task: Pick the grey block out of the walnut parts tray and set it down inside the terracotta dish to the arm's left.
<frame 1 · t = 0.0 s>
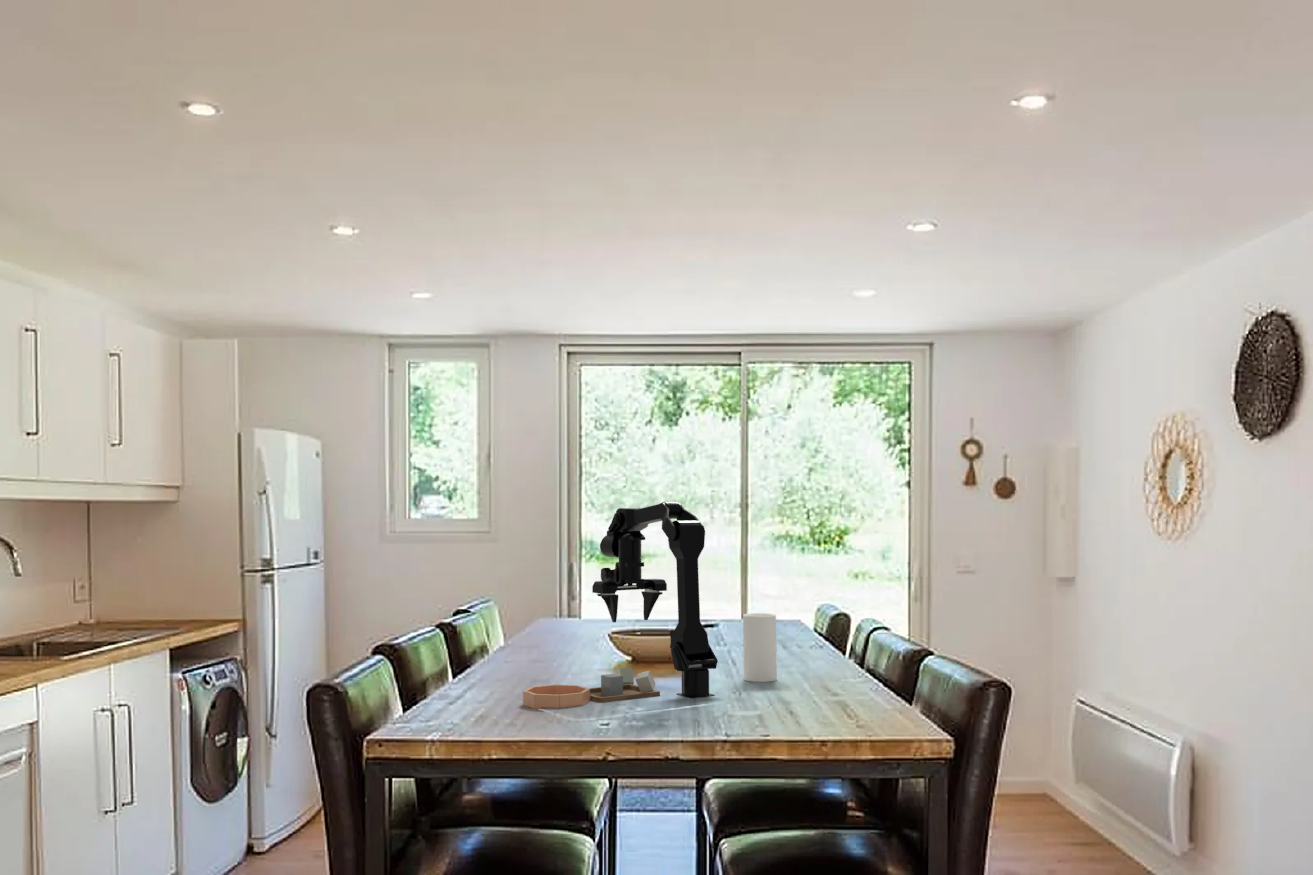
hand: (630, 621, 266), 15 cm above the table, fingers open, 9 cm apart
tray: (615, 697, 242), on the table
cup: (760, 680, 266), on the table
dish: (556, 703, 233), on the table
grey small block: (639, 683, 244), point 3 cm above the table, tilted 73°, touching tray
grey block: (612, 695, 241), resting on tray
pale green block: (626, 675, 253), point 3 cm above the table, tilted 128°
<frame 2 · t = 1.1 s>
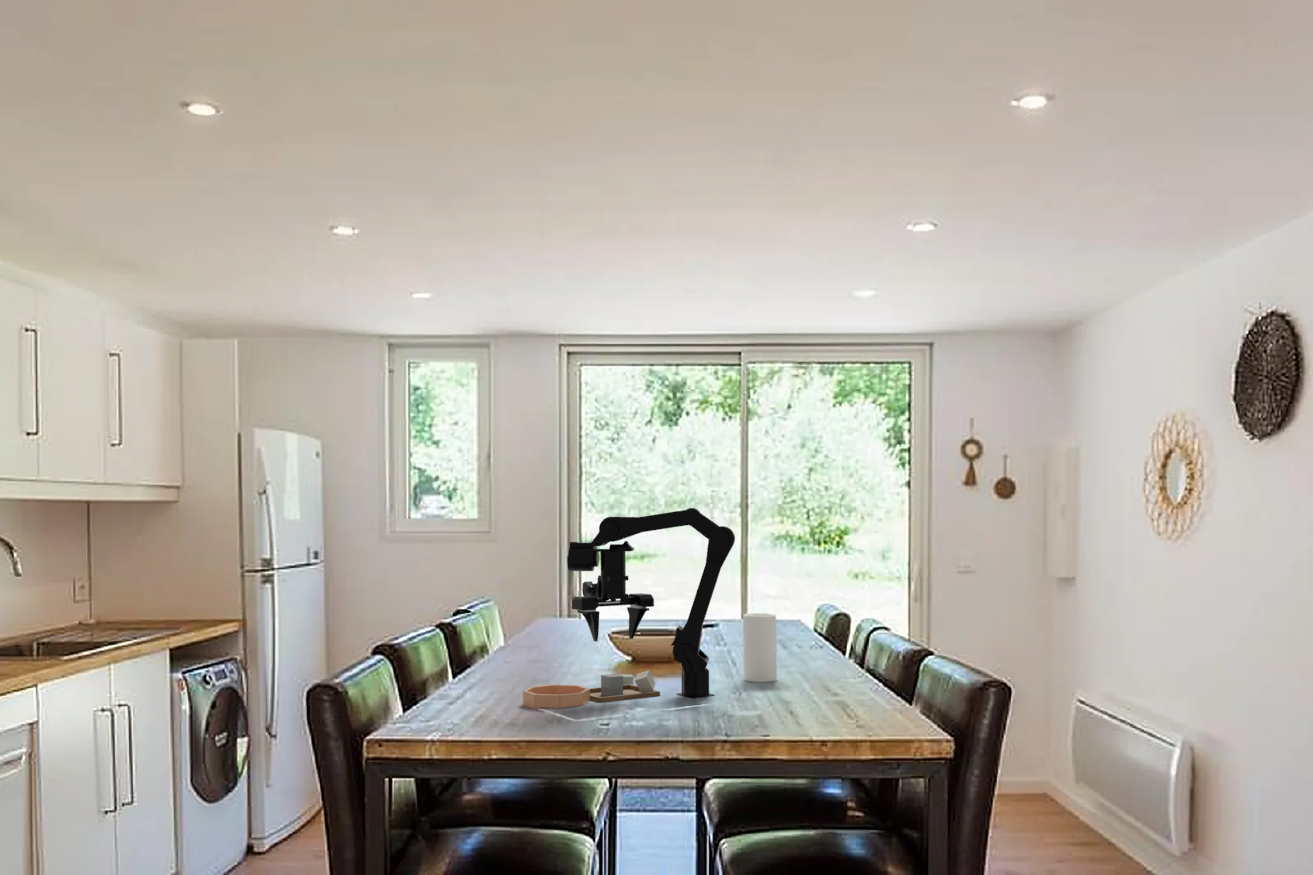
hand: (613, 640, 244), 13 cm above the table, fingers open, 9 cm apart
pale green block: (625, 675, 256), point 3 cm above the table, tilted 180°
everything else where it was.
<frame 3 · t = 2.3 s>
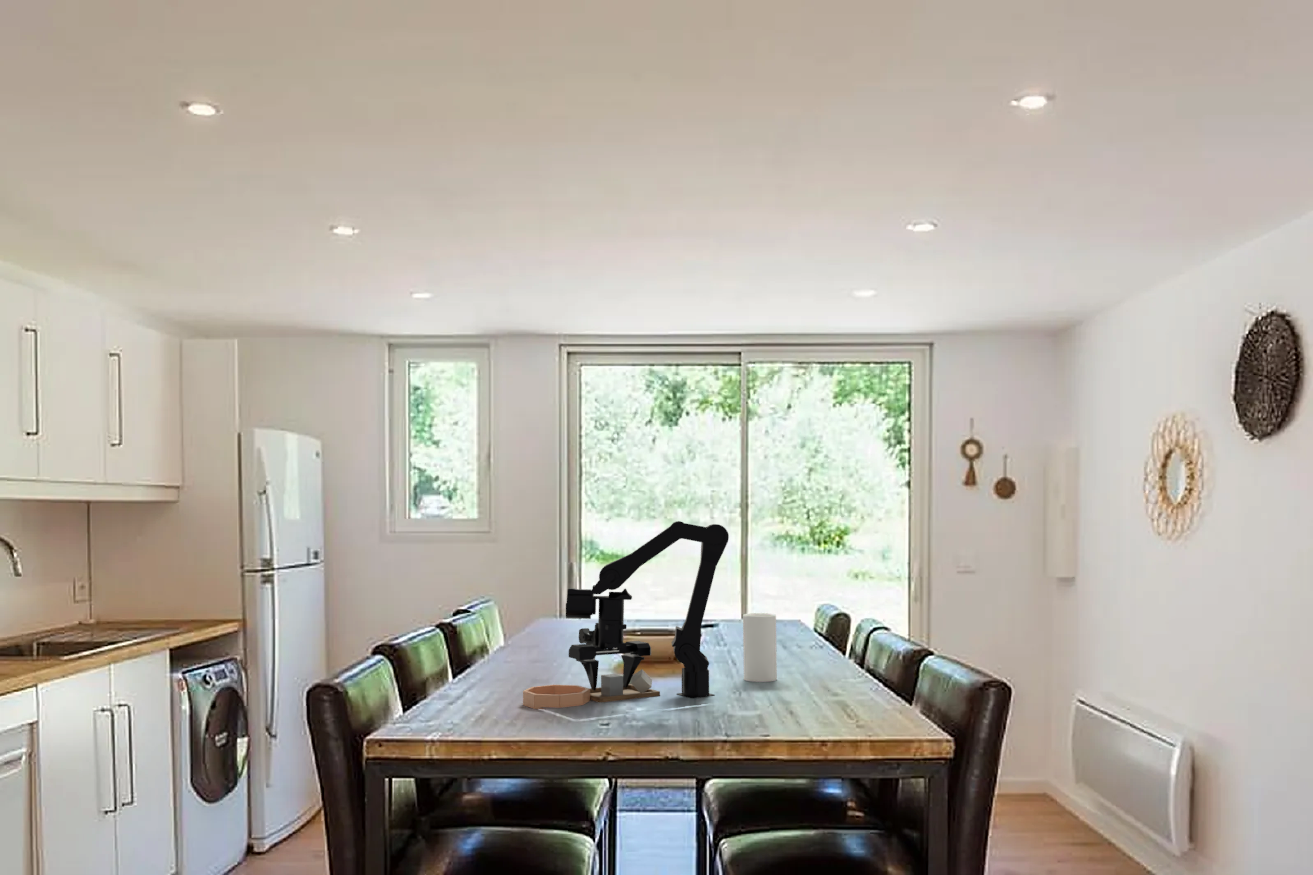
hand: (609, 689, 241), 2 cm above the table, fingers open, 8 cm apart
grey small block: (636, 684, 244), point 2 cm above the table, tilted 56°, touching gripper, tray
everything else where it was.
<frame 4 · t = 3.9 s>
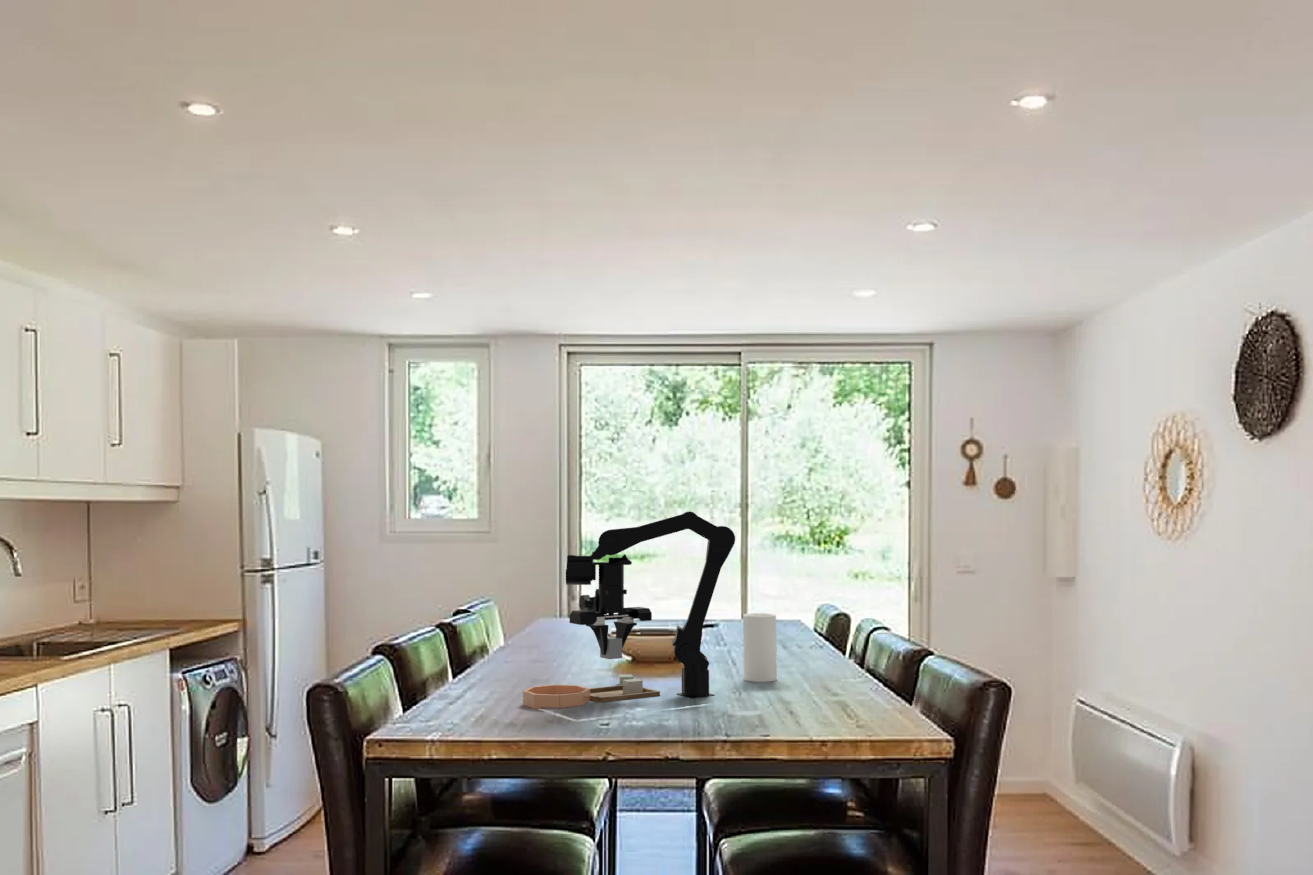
hand: (611, 654, 242), 10 cm above the table, fingers closed on grey block, 3 cm apart
grey small block: (632, 693, 243), resting on tray
grey block: (611, 657, 242), point 9 cm above the table, touching gripper
everything else where it was.
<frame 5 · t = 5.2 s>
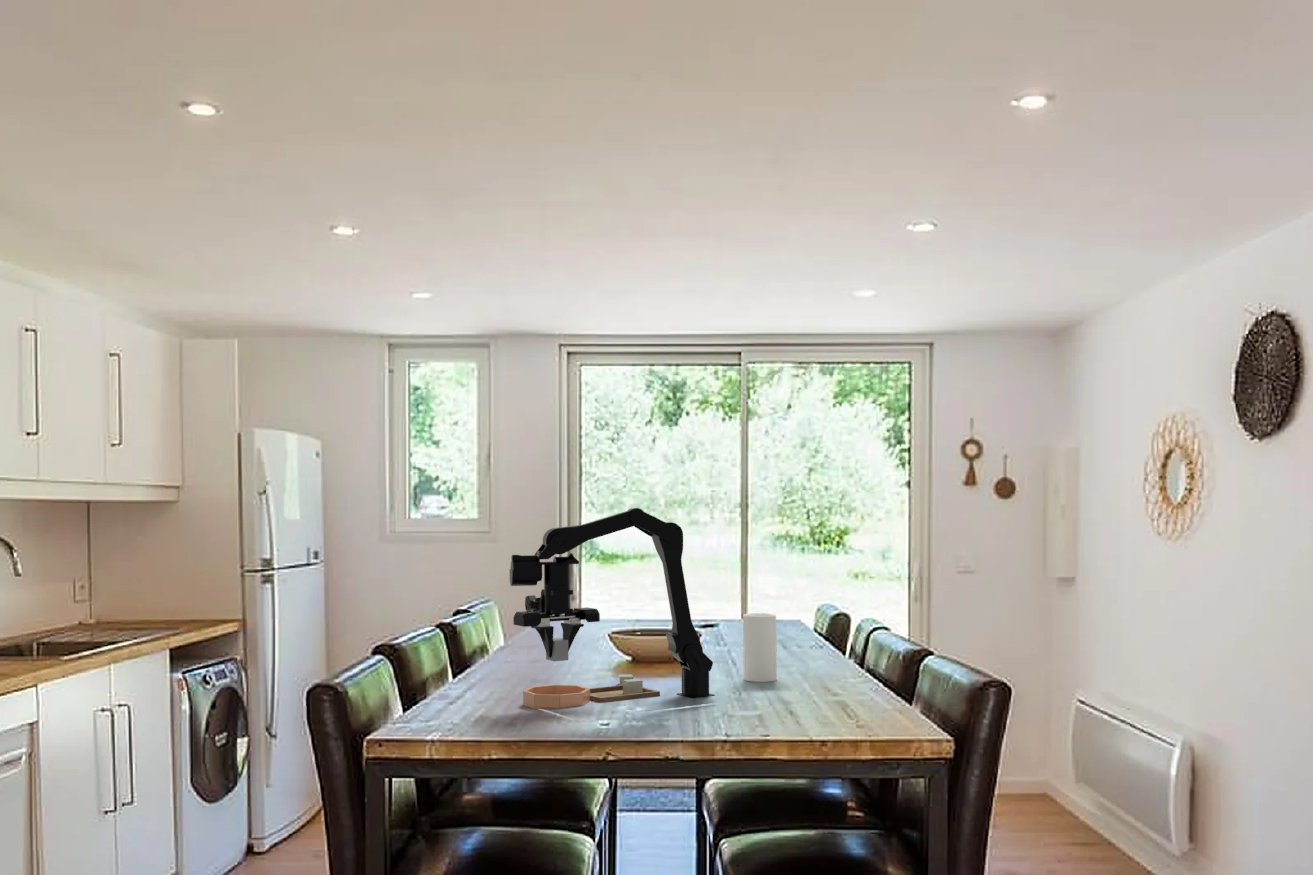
hand: (557, 656, 234), 10 cm above the table, fingers closed on grey block, 3 cm apart
grey block: (557, 659, 234), point 10 cm above the table, touching gripper
everything else where it was.
when the fingers open (3 cm above the table, at t = 6.4 s): grey block drops 2 cm, resting on dish.
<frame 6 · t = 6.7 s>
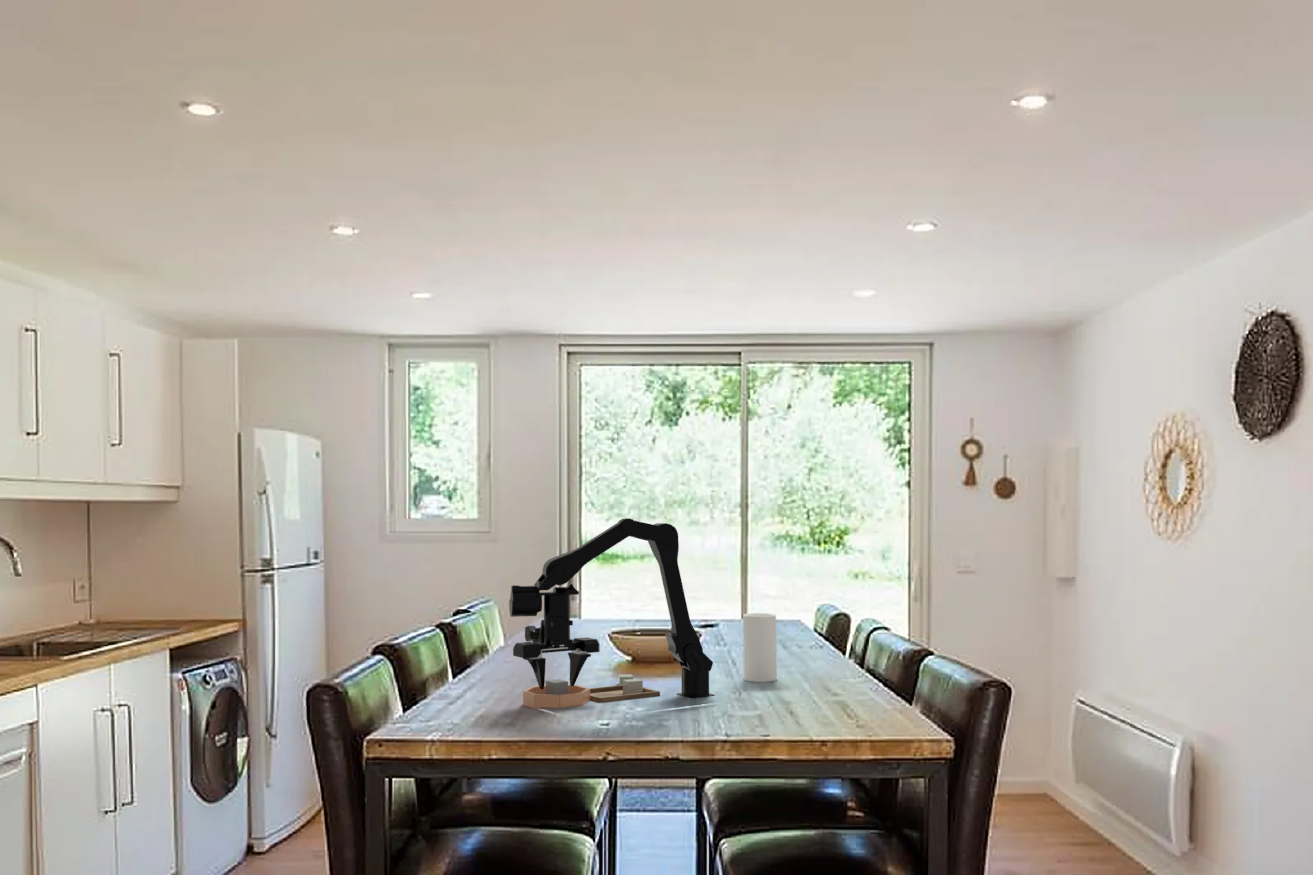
hand: (556, 687, 234), 3 cm above the table, fingers open, 7 cm apart
grey block: (556, 701, 234), resting on dish
everything else where it was.
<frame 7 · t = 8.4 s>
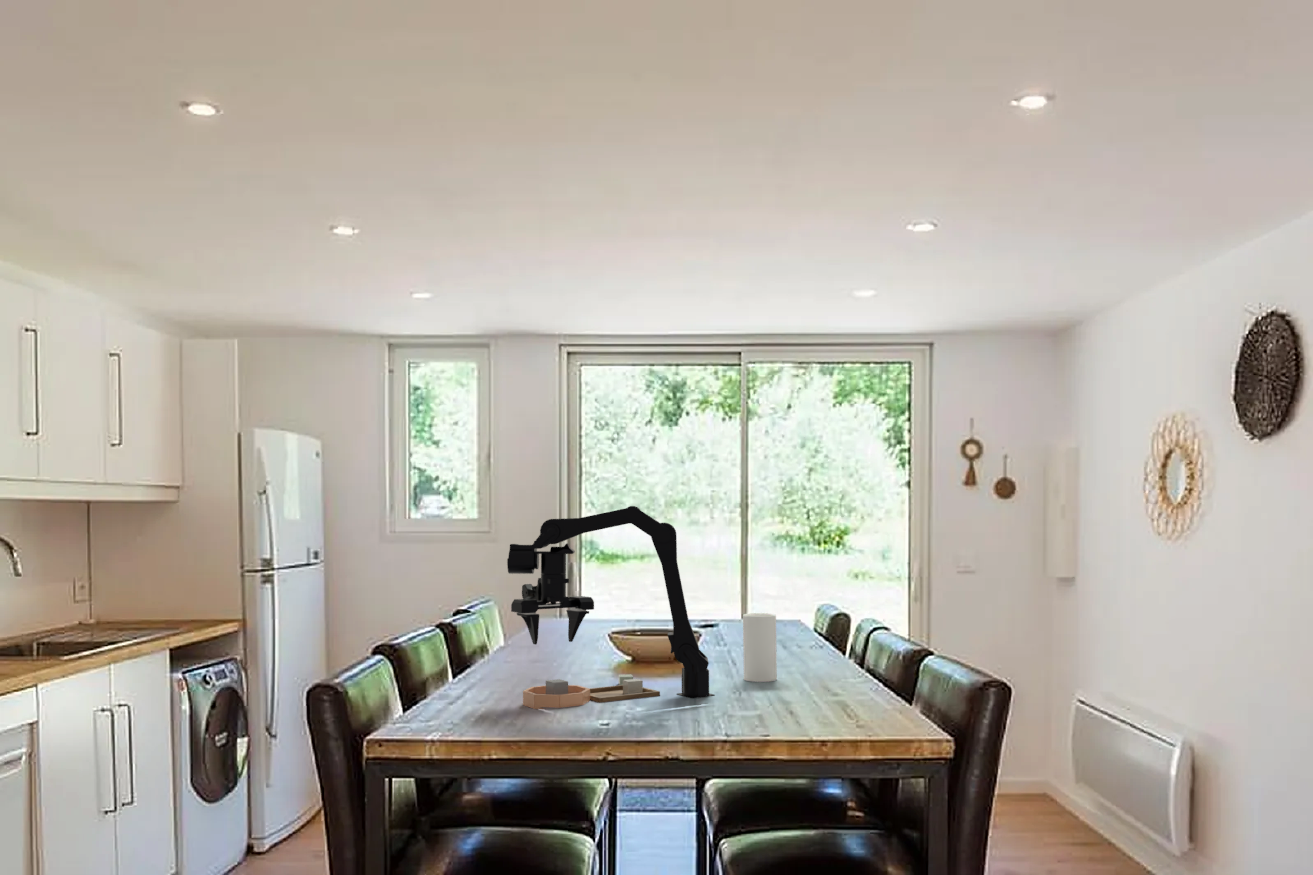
hand: (552, 643, 243), 12 cm above the table, fingers open, 9 cm apart
nothing on the table moved.
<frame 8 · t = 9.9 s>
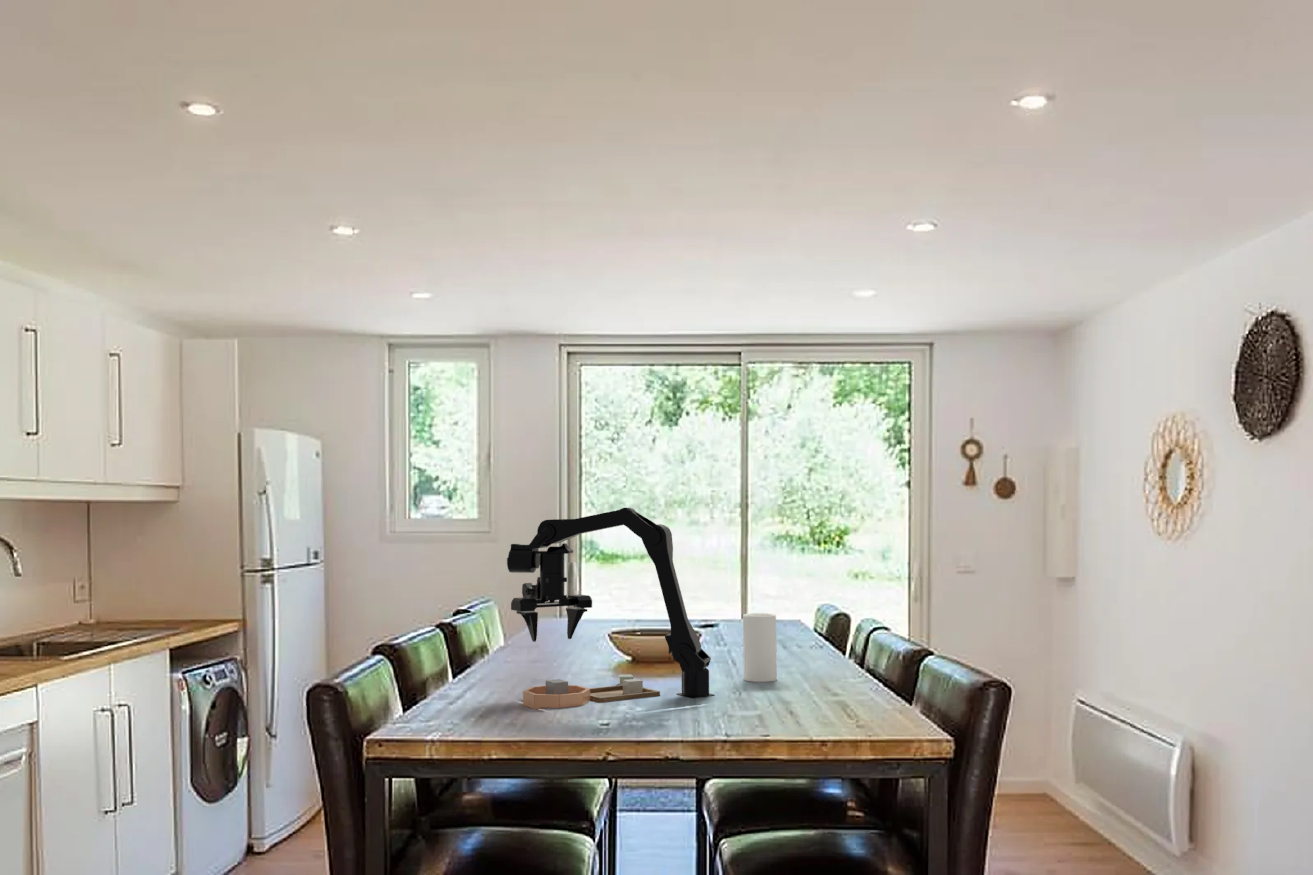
hand: (552, 640, 249), 12 cm above the table, fingers open, 9 cm apart
nothing on the table moved.
at the end: grey block 0.1 cm from the dish (horizontally); grey block point 0.5 cm above the table; the gripper is holding nothing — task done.
